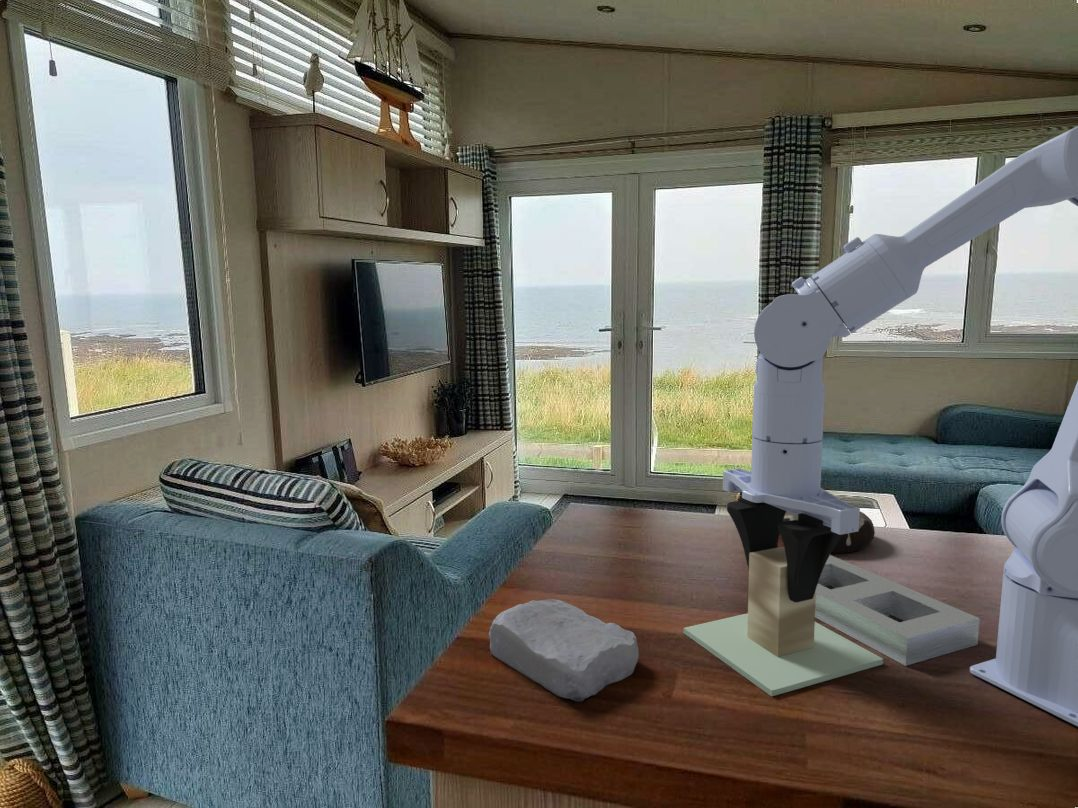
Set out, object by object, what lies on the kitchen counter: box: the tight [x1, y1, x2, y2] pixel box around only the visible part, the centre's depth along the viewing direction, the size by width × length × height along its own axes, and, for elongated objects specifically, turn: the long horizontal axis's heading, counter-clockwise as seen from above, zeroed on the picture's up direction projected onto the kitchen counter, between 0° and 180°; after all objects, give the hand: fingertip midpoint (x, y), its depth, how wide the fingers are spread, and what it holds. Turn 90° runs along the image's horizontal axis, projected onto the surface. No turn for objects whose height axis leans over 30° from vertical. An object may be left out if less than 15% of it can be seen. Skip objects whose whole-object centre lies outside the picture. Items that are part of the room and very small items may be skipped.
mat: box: [683, 612, 884, 697], centre depth 66 cm, size 12×12×1 cm
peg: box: [747, 545, 816, 657], centre depth 65 cm, size 4×4×8 cm
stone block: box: [488, 598, 640, 703], centre depth 64 cm, size 12×5×10 cm
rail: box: [815, 554, 981, 667], centre depth 72 cm, size 18×9×2 cm, turn 24°
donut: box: [779, 510, 876, 554], centre depth 93 cm, size 12×12×4 cm
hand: (780, 588), depth 65 cm, fingers open, 4 cm apart
